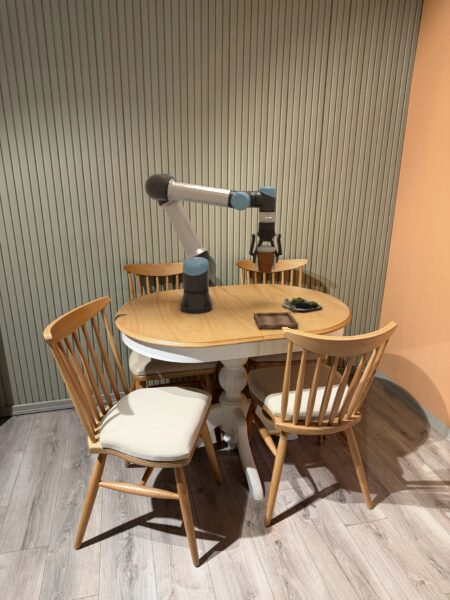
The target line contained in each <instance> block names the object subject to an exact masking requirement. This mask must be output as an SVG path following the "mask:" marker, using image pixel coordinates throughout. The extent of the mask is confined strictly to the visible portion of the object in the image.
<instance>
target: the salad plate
mask: <svg viewBox="0 0 450 600" xmlns="http://www.w3.org/2000/svg"><path fill="white" fill-rule="evenodd" d="M281 304H282V306H283V307H285V308H286V309H288V310H290V311H292V312H296V313H302V314H303V313H314V312H317V311H319V310H322V308H323V304H322V303H319V302H316V301H313V300H310V299H308V298H307V299H306V298H302V297H300V296H298V297H292V298H291V299H290V300H289V298H284V301H283V302H282V303H281Z"/></svg>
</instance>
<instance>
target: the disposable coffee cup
mask: <svg viewBox="0 0 450 600" xmlns="http://www.w3.org/2000/svg"><path fill="white" fill-rule="evenodd" d="M275 247H276V246H275ZM275 247H272V246H271V244H261V247H258V248H257V251H258V253H257V255H256V256H257V257H258V264H257V271H258V273H264V274H265V273H266V274H267V273H271V272H272V271H273V260H274V256H275V250H277V248H276V249H275Z"/></svg>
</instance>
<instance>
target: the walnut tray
mask: <svg viewBox="0 0 450 600" xmlns="http://www.w3.org/2000/svg"><path fill="white" fill-rule="evenodd" d="M291 313H292V312H290V311H282V312H279V311H277V312H275V311H274V312H253V319H254V322H255V321H256V322H255V324H256V326H257V328H258V330H259V329H272V330H283V329H282V327H288V328H292V329H291V330H298V329H299V323H298V321H297V320H296V319H295V318H294V316H293V314H291Z"/></svg>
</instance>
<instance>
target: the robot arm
mask: <svg viewBox="0 0 450 600" xmlns="http://www.w3.org/2000/svg"><path fill="white" fill-rule="evenodd" d="M144 190H145V193H146V194H147V196H148V197H149V198H150V199H152V200H154V201H157V204H158V206H159V207H160V208H161V209H164V211H165V213H166V215H167V216H168V218H169V221H170V223H171V225H172V227H173V229H174V232H175V234H176V236H177V239H178V241H179V242H180V244H181V246H182V248H183V251H184V253H185V256H186V257H185V259H184V261H183V263H182V283H183V287H182V288H183V294H182V297H181V301H180V304H179V307H180V308H179V310H180V311H181V312H183V313H187V314H203V313H204V314H205V313H209V312H211V311H212V310H214V309H213V301H212V299H211V296H210V287H209V280H210V279H211V278H212V277H214V275H215V273H216V270H217V263H216V259H215V258H214V257H213V256H211V255H210V253H209V251H208V249H207V248H205V247H203V246H202V243H201V241H200V239H199V237H198V234H197V232H196V230H195V228H194V226H193V224H192V222H191V220H190V218H189V216H188V213H187V211H186V208H185V207H184V205H183V203H182V201H183V202H188V203H189V202H190V203H197V204H203V205H210V206H217V207H223V208H227V209H228V208H229V209H235V210H237V211H245V210H247V209H258V221H259V222H258V223H257V224H258V226H257V228H258V229H257V233H252V234H251V235H250V236H251V240H250V247H249V252H248V255H249V256H251V257H252V264H254V270H255V271H256V272H257V271H258V257H257V253H258V251H257V248H258V247H261V245H263V243H269V245H271V246H272V247H275V249H276V250H275V254H274V260H273V266H272V271H276V269H277V268H276V267H277V264H278V263H279V256H282V255H283V250H282V249H283V248H282V241H281V240H282V239H281V238H282V234H281V233H276V231H275V230H276V229H275V226H276V222H275V221H276V209H277V207H276V206H277V205H276V204H277V203H276V202H277V188H276V187H275V186H260V187H259V190H234V189H233V190H232V189H226V188H219V187H212V186H206V185H200V184H193V183H188V182H187V183H186V182H180V181H178V180H177V178H176V177H175V176H173V175H172V174H169V173H154V174H151V175H149V176H148V178H147V179H146V181H145V183H144ZM257 237H258V238H259V240H258V241H257V244H256V246H255V243H256V239H257ZM274 238H276V243H277V248H276V245H275V242H274V240H273V239H274ZM254 248H255V249H254Z"/></svg>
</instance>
